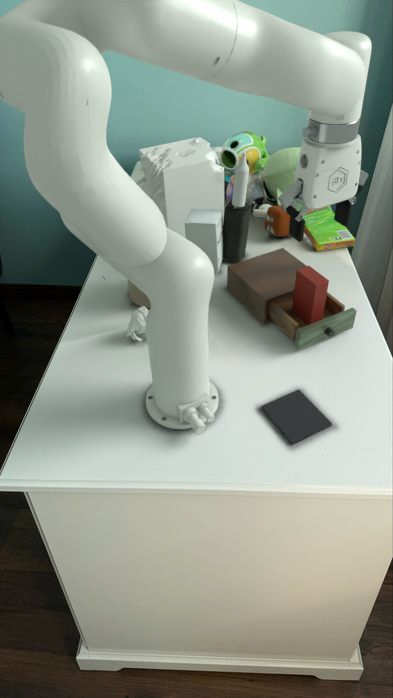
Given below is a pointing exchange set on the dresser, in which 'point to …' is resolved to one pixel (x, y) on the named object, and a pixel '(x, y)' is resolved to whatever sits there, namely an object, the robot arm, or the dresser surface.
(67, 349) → the dresser surface
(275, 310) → the drawer
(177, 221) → the tissue box
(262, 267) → the cabinet
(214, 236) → the white packaging box
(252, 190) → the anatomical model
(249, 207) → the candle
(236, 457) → the dresser surface
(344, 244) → the game box
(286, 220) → the toy
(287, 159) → the toy
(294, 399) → the pad
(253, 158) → the turtle holder
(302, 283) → the book
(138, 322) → the figurine
